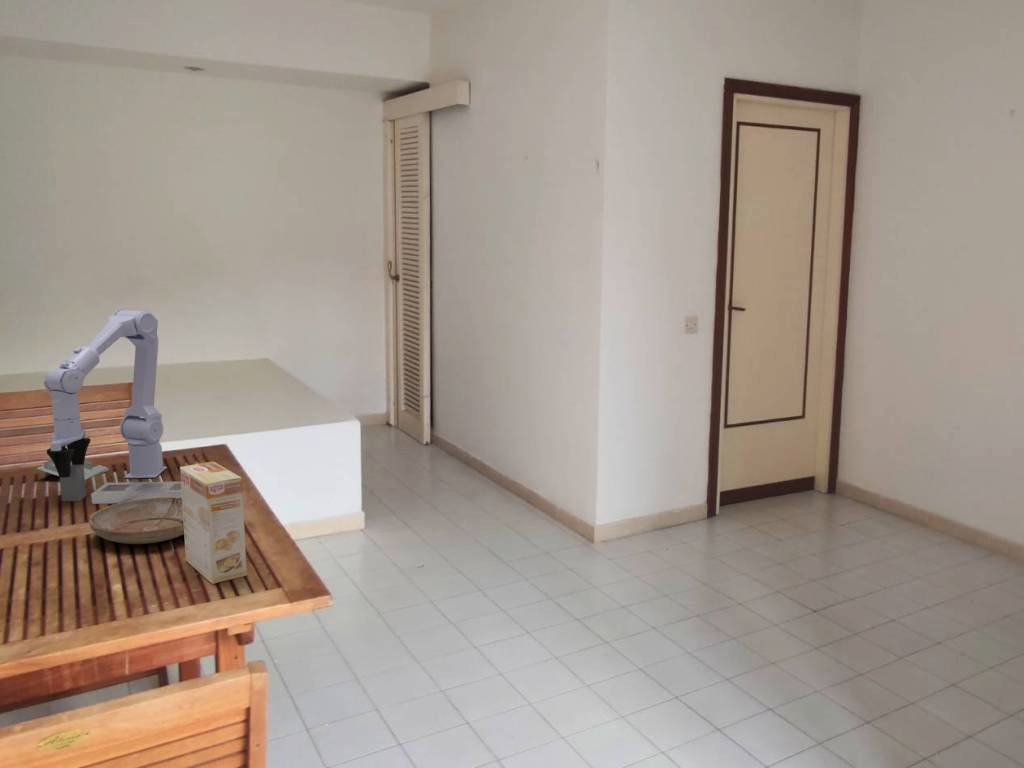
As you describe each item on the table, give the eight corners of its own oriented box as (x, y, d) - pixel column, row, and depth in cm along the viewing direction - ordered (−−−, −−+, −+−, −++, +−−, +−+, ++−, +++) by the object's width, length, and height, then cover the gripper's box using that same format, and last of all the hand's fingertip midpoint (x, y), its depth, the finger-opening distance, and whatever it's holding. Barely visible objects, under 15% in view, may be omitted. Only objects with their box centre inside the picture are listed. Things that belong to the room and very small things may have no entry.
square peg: (69, 496, 207) (66, 464, 206) (86, 495, 208) (83, 464, 206) (62, 501, 203) (59, 469, 202) (79, 501, 204) (76, 469, 202)
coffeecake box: (248, 575, 160) (243, 477, 157) (211, 585, 156) (204, 484, 152) (220, 552, 172) (214, 460, 168) (184, 560, 167) (178, 466, 164)
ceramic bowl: (147, 562, 167) (145, 538, 166) (65, 543, 177) (63, 520, 176) (231, 526, 188) (230, 504, 187) (154, 511, 197) (152, 490, 196)
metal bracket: (29, 463, 216) (65, 448, 231) (25, 483, 218) (61, 467, 232) (81, 480, 216) (114, 463, 231) (77, 500, 217) (110, 483, 232)
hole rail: (107, 492, 210) (106, 482, 210) (205, 490, 212) (204, 481, 212) (92, 503, 202) (91, 493, 201) (194, 501, 203) (194, 491, 203)
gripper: (63, 411, 209) (67, 464, 211) (34, 424, 194) (40, 481, 197) (92, 411, 209) (96, 464, 212) (66, 424, 195) (71, 480, 197)
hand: (71, 472), depth 204 cm, fingers open, 7 cm apart
